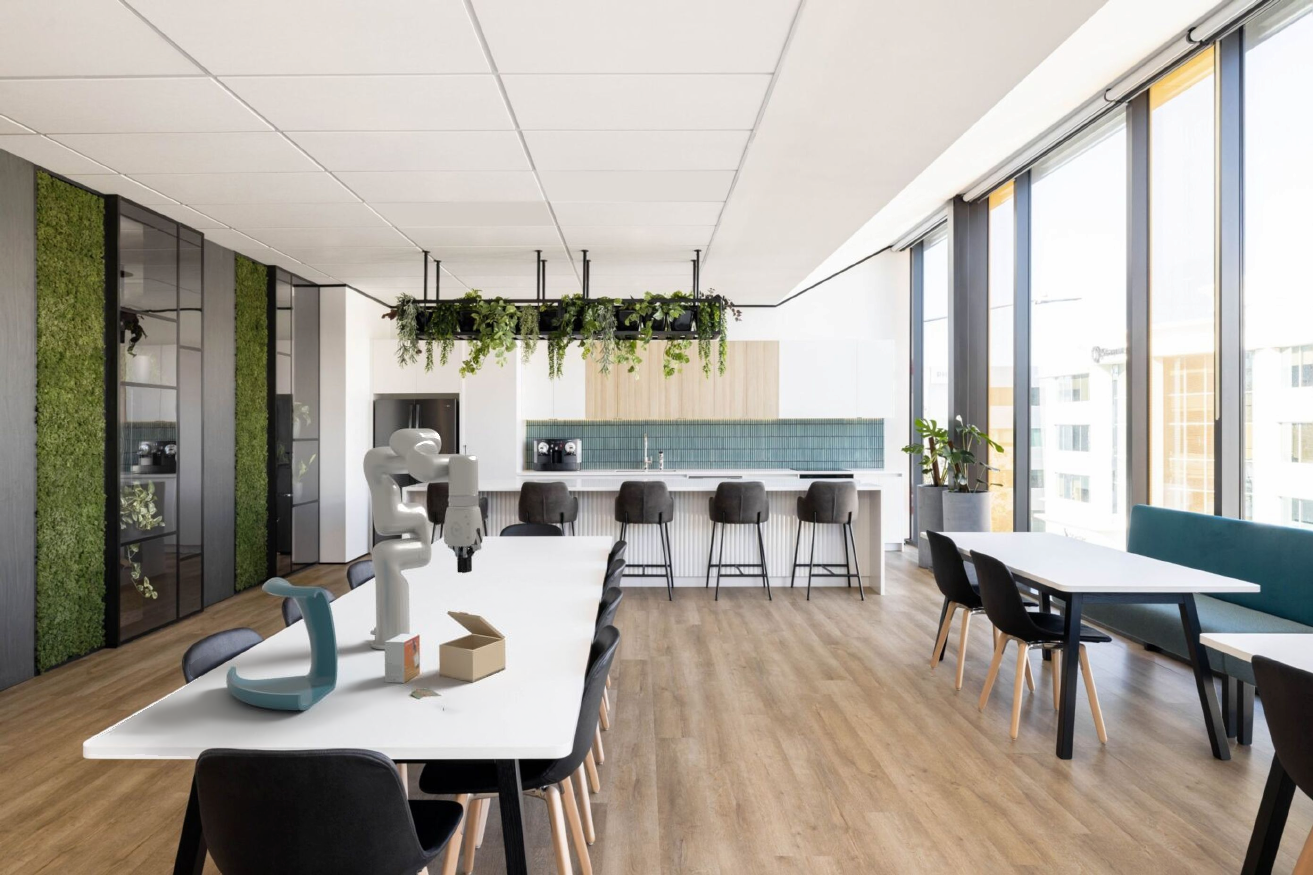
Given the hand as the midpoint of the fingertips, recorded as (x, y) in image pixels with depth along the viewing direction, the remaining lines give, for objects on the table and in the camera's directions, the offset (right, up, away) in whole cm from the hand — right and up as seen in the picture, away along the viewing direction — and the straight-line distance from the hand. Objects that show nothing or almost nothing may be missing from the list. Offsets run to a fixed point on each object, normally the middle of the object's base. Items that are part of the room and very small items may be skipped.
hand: (464, 571), depth 189 cm
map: (-1, -28, -19) cm, 34 cm away
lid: (+2, -15, +3) cm, 15 cm away
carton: (+2, -27, +2) cm, 27 cm away
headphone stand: (-44, -28, -14) cm, 54 cm away
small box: (-16, -28, -2) cm, 32 cm away
